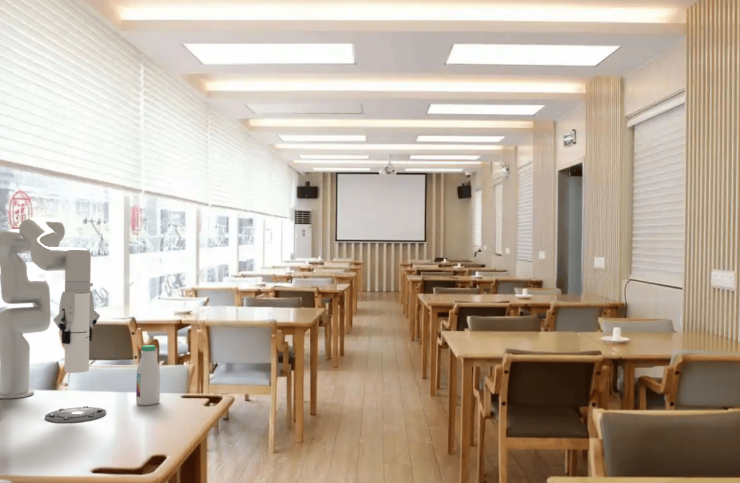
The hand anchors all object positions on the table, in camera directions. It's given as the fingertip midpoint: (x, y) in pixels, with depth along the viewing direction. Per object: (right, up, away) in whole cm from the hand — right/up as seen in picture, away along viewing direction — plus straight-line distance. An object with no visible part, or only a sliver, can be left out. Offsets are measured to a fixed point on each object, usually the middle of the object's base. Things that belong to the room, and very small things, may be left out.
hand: (77, 341), depth 217 cm
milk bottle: (+17, -24, +18) cm, 34 cm away
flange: (0, -24, 0) cm, 24 cm away
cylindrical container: (0, -10, 0) cm, 10 cm away
